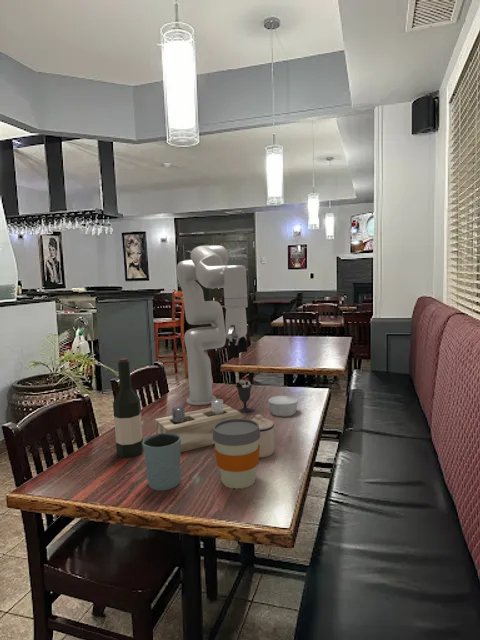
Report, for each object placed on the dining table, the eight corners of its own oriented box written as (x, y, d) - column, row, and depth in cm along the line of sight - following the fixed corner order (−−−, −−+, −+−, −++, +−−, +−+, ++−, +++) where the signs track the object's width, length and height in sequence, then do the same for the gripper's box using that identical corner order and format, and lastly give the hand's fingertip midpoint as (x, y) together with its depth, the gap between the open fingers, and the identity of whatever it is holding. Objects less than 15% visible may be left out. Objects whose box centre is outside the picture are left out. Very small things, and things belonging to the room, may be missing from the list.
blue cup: (149, 495, 114) (146, 450, 112) (141, 478, 123) (138, 436, 121) (188, 485, 117) (185, 442, 116) (177, 470, 127) (175, 429, 125)
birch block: (156, 442, 148) (155, 419, 147) (226, 426, 160) (225, 404, 159) (169, 455, 137) (167, 430, 136) (242, 436, 150) (241, 413, 149)
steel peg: (210, 421, 152) (209, 400, 151) (220, 419, 154) (219, 398, 153) (215, 425, 149) (214, 403, 148) (226, 422, 151) (225, 401, 150)
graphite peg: (171, 430, 146) (170, 408, 145) (183, 427, 148) (181, 405, 147) (176, 434, 142) (174, 411, 141) (187, 431, 144) (186, 409, 143)
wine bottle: (148, 448, 143) (142, 356, 140) (134, 459, 135) (127, 362, 132) (126, 446, 146) (119, 355, 142) (111, 456, 138) (103, 361, 134)
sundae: (254, 407, 179) (252, 371, 178) (252, 413, 173) (251, 375, 171) (237, 407, 180) (236, 371, 178) (235, 413, 173) (234, 375, 172)
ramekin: (304, 413, 170) (303, 399, 170) (281, 420, 164) (281, 406, 164) (285, 406, 180) (284, 393, 179) (263, 412, 173) (262, 399, 173)
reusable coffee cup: (268, 487, 115) (266, 431, 113) (221, 496, 112) (218, 438, 110) (253, 466, 127) (251, 415, 125) (210, 474, 124) (207, 421, 122)
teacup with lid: (275, 446, 141) (274, 410, 139) (274, 458, 132) (273, 420, 130) (237, 445, 142) (235, 410, 141) (234, 458, 133) (232, 420, 132)
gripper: (232, 301, 156) (235, 349, 158) (216, 305, 139) (219, 359, 141) (253, 300, 154) (255, 349, 156) (239, 305, 137) (242, 360, 139)
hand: (238, 354), depth 148 cm, fingers open, 9 cm apart
